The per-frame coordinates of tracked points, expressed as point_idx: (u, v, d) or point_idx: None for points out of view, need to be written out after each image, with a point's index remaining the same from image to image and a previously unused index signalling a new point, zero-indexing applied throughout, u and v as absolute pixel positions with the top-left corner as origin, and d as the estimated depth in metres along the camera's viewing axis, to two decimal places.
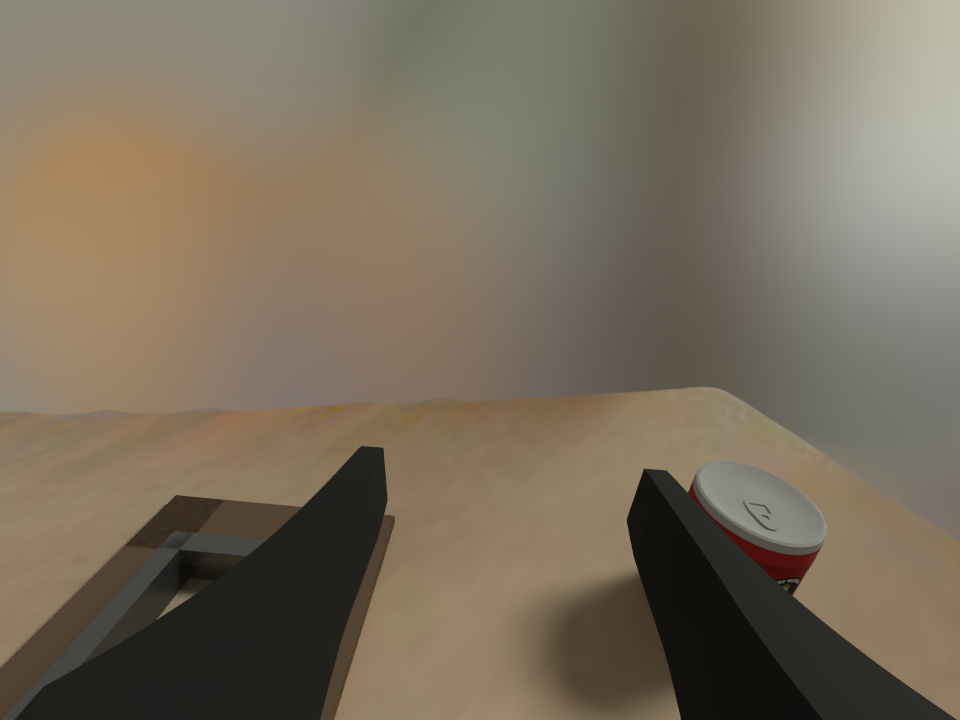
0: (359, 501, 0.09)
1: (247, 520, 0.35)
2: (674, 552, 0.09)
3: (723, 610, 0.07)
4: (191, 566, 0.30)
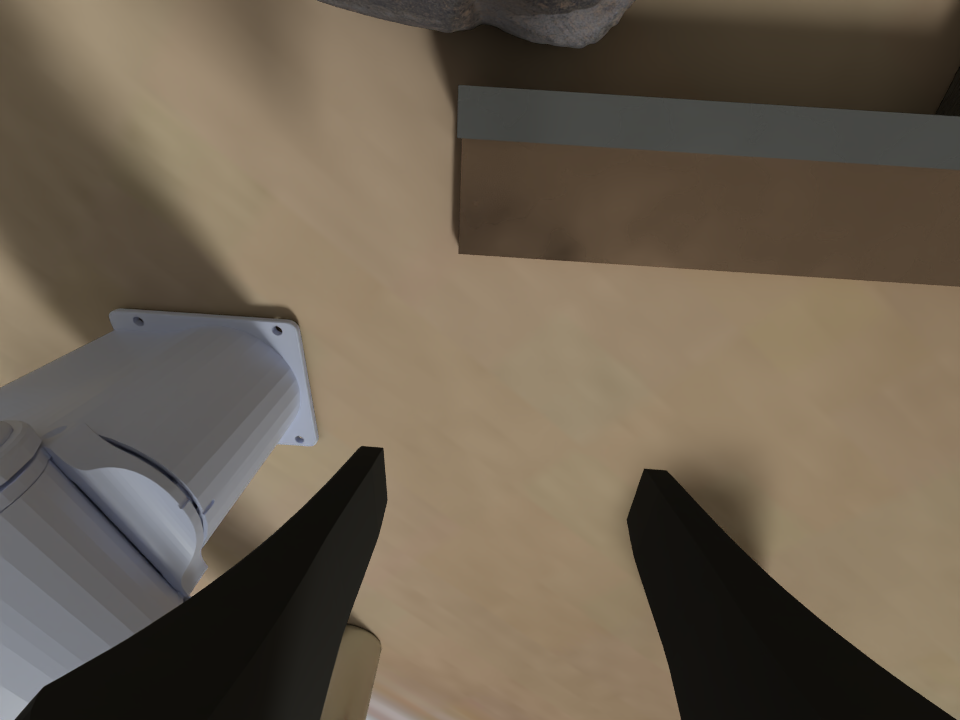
0: (359, 501, 0.09)
1: None
2: (674, 552, 0.09)
3: (723, 610, 0.07)
4: None
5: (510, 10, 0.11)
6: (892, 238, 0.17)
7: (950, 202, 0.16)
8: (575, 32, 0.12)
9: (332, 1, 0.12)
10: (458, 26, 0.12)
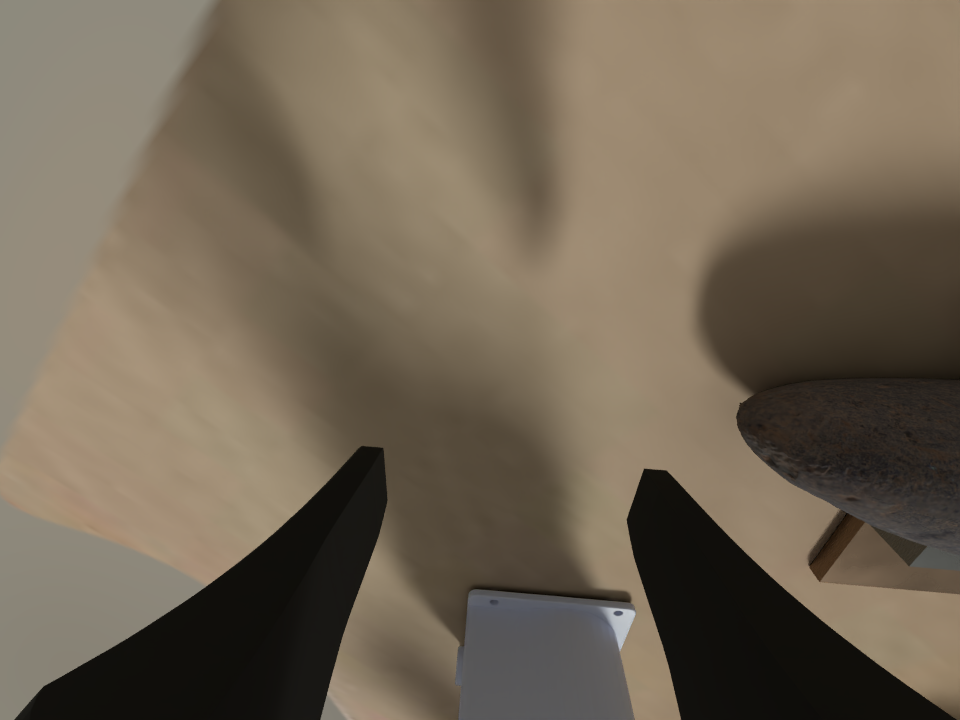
0: (359, 502, 0.09)
1: None
2: (674, 552, 0.09)
3: (723, 610, 0.07)
4: None
5: None
6: None
7: None
8: None
9: None
10: None
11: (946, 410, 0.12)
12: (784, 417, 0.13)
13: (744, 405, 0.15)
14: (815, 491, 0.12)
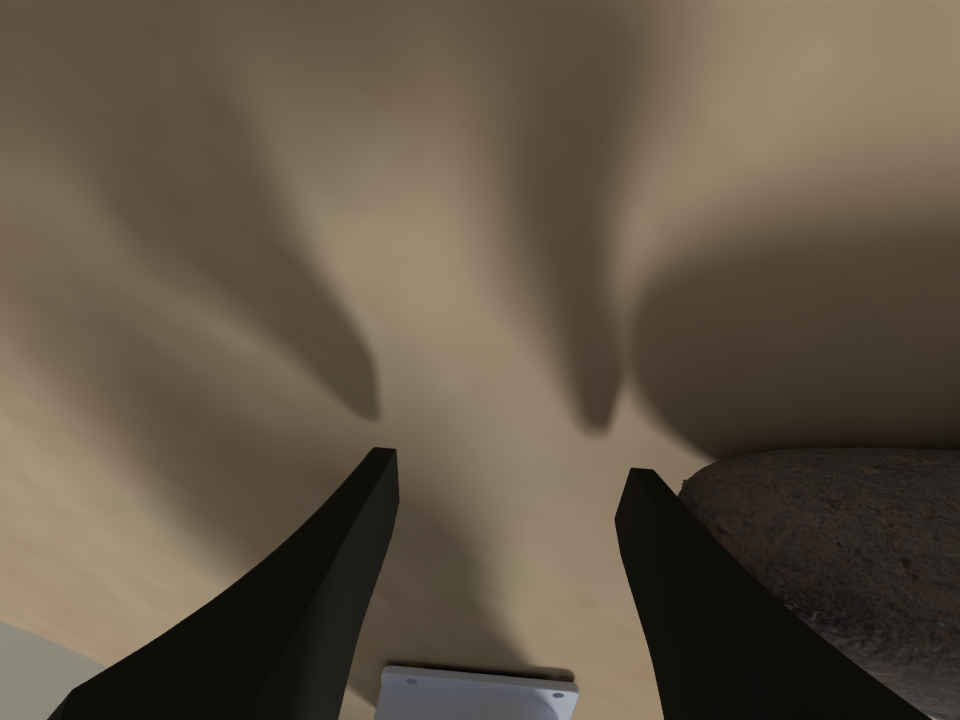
0: (374, 503, 0.09)
1: None
2: (658, 551, 0.09)
3: (703, 608, 0.07)
4: None
5: None
6: None
7: None
8: None
9: None
10: None
11: None
12: (733, 517, 0.09)
13: (686, 487, 0.11)
14: None
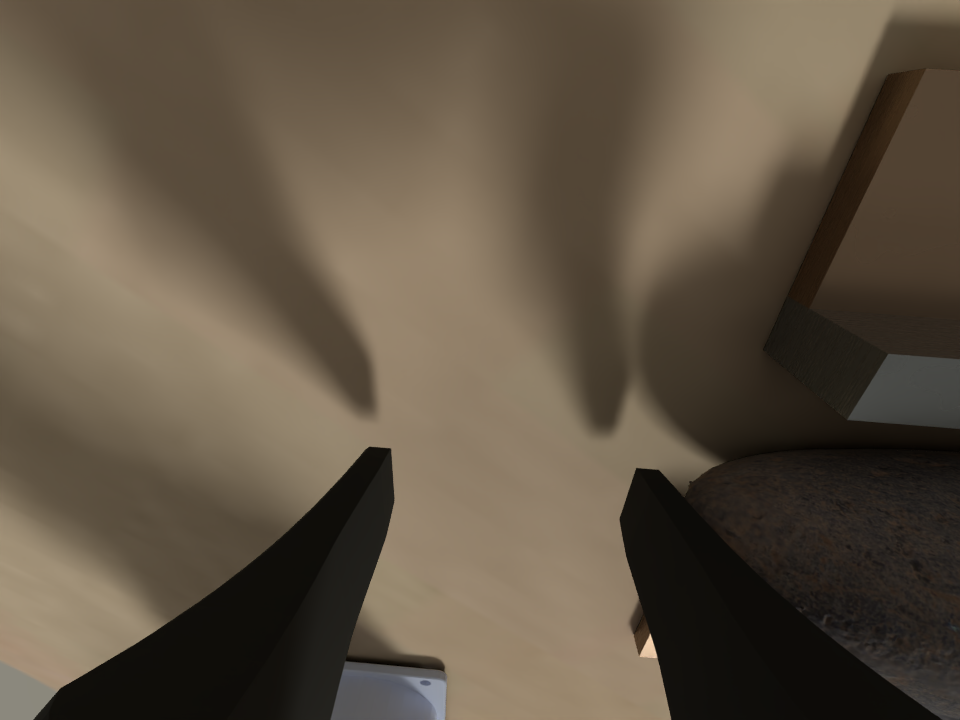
0: (368, 502, 0.09)
1: None
2: (665, 551, 0.09)
3: (711, 609, 0.07)
4: None
5: None
6: None
7: None
8: None
9: None
10: None
11: None
12: (741, 519, 0.09)
13: (693, 488, 0.11)
14: None
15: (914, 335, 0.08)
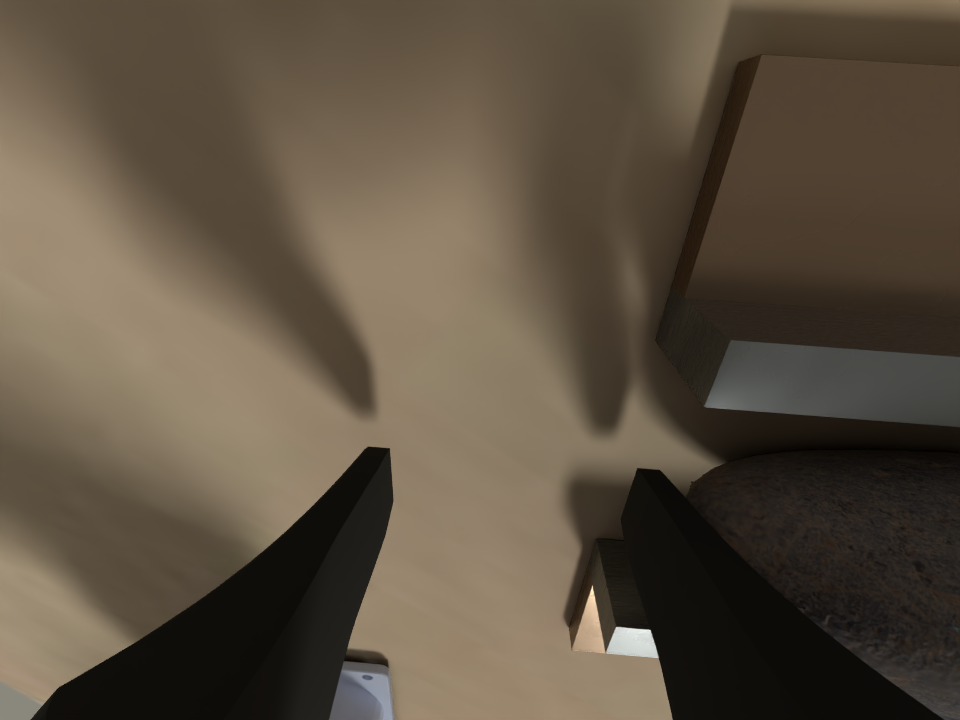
0: (366, 502, 0.09)
1: None
2: (666, 551, 0.09)
3: (713, 609, 0.07)
4: None
5: None
6: None
7: None
8: None
9: None
10: None
11: None
12: (743, 520, 0.09)
13: (694, 488, 0.11)
14: None
15: (773, 323, 0.08)
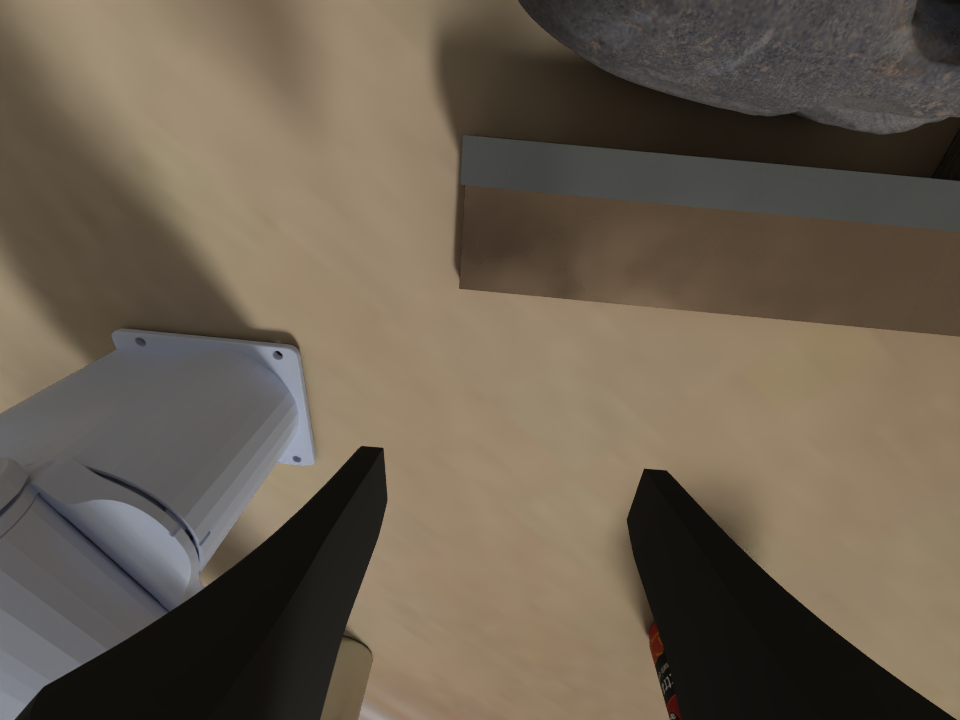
0: (359, 501, 0.09)
1: None
2: (674, 552, 0.09)
3: (723, 610, 0.07)
4: None
5: (847, 104, 0.11)
6: (890, 288, 0.17)
7: (949, 255, 0.16)
8: (891, 122, 0.12)
9: (649, 83, 0.12)
10: None
11: None
12: None
13: None
14: None
15: None
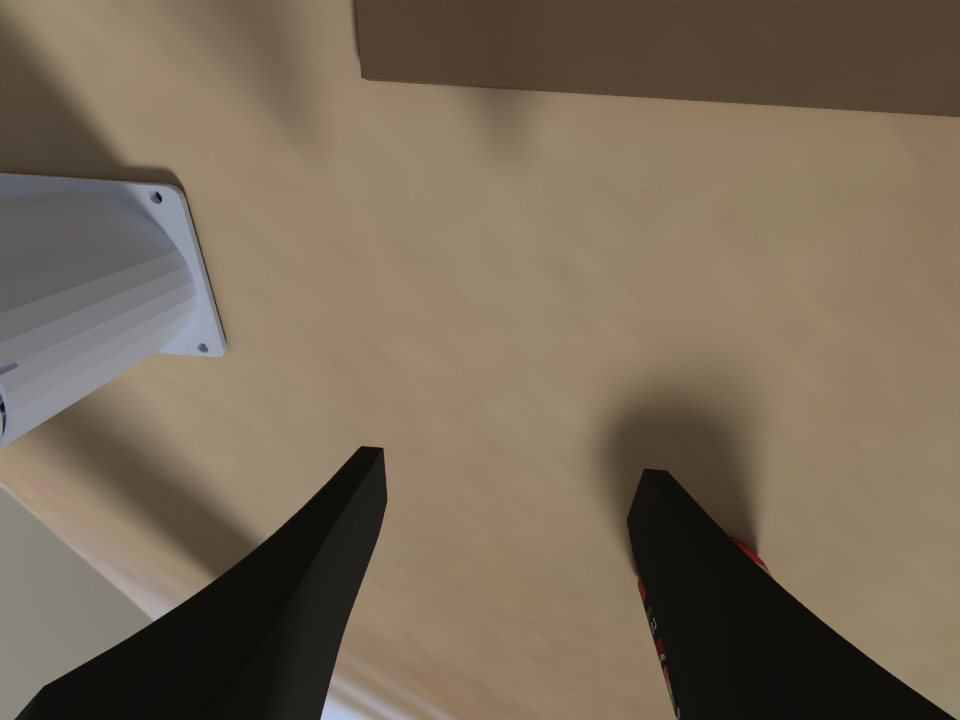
0: (359, 502, 0.09)
1: None
2: (674, 552, 0.09)
3: (723, 610, 0.07)
4: None
5: None
6: (921, 43, 0.13)
7: None
8: None
9: None
10: None
11: None
12: None
13: None
14: None
15: None
